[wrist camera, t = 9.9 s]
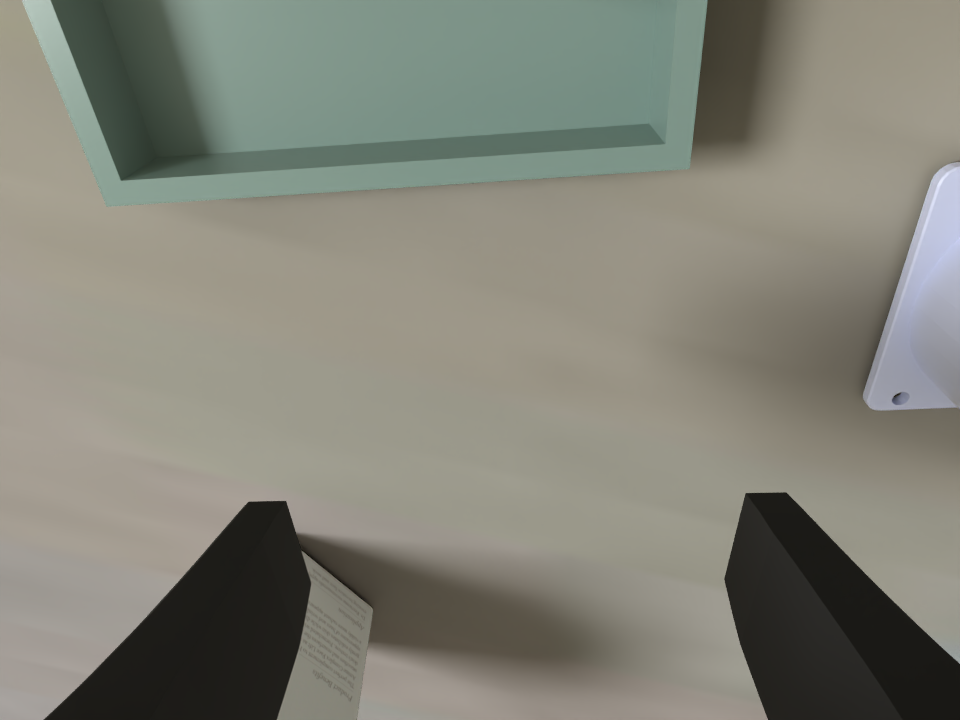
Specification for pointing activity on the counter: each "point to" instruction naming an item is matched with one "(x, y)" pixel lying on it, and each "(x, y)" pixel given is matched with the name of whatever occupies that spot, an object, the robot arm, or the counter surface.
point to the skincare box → (328, 652)
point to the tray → (369, 91)
